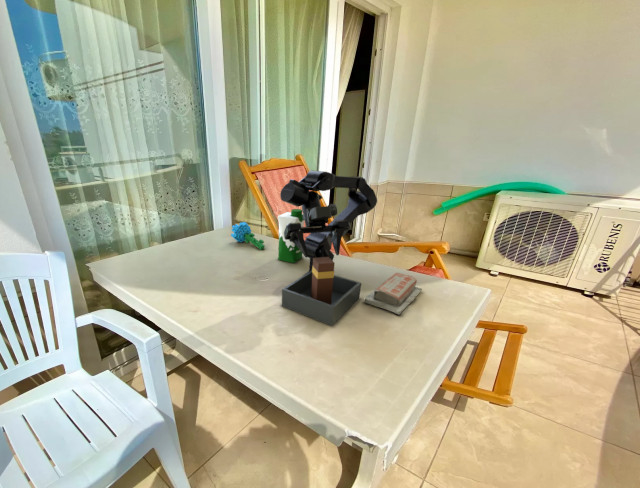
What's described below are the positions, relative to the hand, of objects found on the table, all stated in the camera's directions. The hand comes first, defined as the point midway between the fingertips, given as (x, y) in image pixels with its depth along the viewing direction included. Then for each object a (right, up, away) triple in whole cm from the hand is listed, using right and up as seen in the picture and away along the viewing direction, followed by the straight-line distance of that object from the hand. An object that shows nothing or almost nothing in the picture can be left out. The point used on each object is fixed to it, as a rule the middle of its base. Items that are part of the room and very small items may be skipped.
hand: (322, 255), depth 87 cm
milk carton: (-3, -2, +35) cm, 35 cm away
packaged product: (+22, -13, +4) cm, 26 cm away
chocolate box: (0, -13, +2) cm, 13 cm away
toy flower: (-19, +4, +52) cm, 56 cm away
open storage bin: (0, -14, +2) cm, 14 cm away
